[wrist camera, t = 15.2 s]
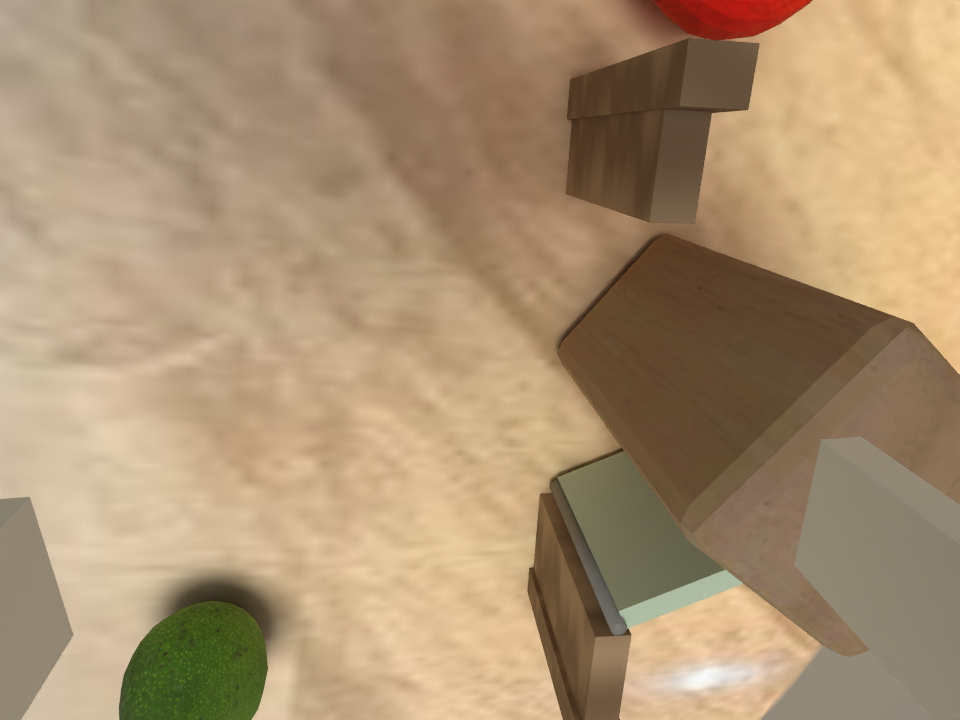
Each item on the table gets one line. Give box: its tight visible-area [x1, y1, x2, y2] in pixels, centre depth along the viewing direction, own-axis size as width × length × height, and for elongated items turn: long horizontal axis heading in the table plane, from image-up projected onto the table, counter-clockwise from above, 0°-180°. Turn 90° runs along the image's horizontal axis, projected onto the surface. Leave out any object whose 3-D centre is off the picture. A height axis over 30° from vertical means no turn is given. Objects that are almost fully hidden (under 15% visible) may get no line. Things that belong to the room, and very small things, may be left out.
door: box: [550, 451, 743, 635], centre depth 36 cm, size 19×1×13 cm, turn 111°
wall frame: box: [528, 38, 759, 720], centre depth 33 cm, size 34×2×15 cm, turn 177°
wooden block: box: [557, 234, 960, 657], centre depth 30 cm, size 10×10×20 cm
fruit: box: [119, 601, 268, 720], centre depth 37 cm, size 8×8×12 cm
